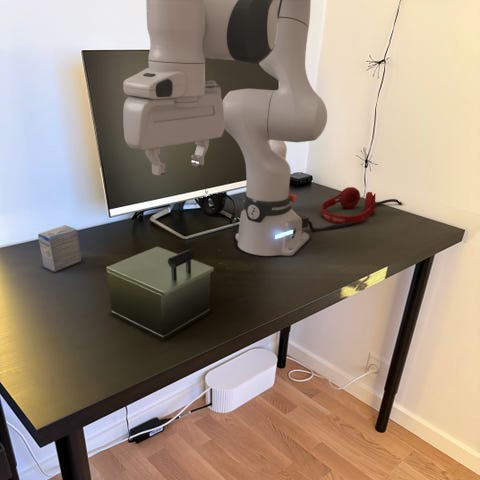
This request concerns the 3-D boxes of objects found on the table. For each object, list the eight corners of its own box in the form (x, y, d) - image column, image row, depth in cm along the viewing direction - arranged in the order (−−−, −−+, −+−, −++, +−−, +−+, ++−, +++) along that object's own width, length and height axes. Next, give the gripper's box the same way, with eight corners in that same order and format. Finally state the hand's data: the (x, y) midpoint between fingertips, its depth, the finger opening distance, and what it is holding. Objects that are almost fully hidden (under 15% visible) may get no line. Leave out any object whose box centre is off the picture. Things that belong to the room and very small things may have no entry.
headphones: (345, 201, 169) (312, 222, 157) (346, 181, 164) (313, 202, 153) (383, 212, 160) (352, 235, 149) (386, 191, 156) (354, 214, 145)
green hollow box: (210, 312, 102) (210, 270, 96) (163, 340, 92) (161, 295, 87) (159, 290, 109) (157, 250, 104) (111, 314, 99) (106, 271, 94)
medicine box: (70, 257, 122) (65, 224, 117) (82, 261, 120) (77, 228, 115) (43, 267, 116) (37, 233, 112) (55, 272, 114) (49, 238, 110)
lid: (213, 271, 96) (214, 246, 93) (164, 296, 86) (163, 269, 84) (157, 249, 104) (156, 226, 101) (106, 270, 94) (103, 245, 91)
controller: (219, 219, 149) (220, 187, 144) (190, 210, 156) (189, 179, 150) (228, 216, 152) (229, 184, 147) (198, 207, 159) (198, 176, 153)
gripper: (207, 78, 86) (206, 158, 93) (113, 82, 72) (121, 175, 79) (234, 81, 83) (231, 164, 90) (142, 86, 69) (147, 183, 76)
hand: (178, 169), depth 84 cm, fingers open, 8 cm apart
